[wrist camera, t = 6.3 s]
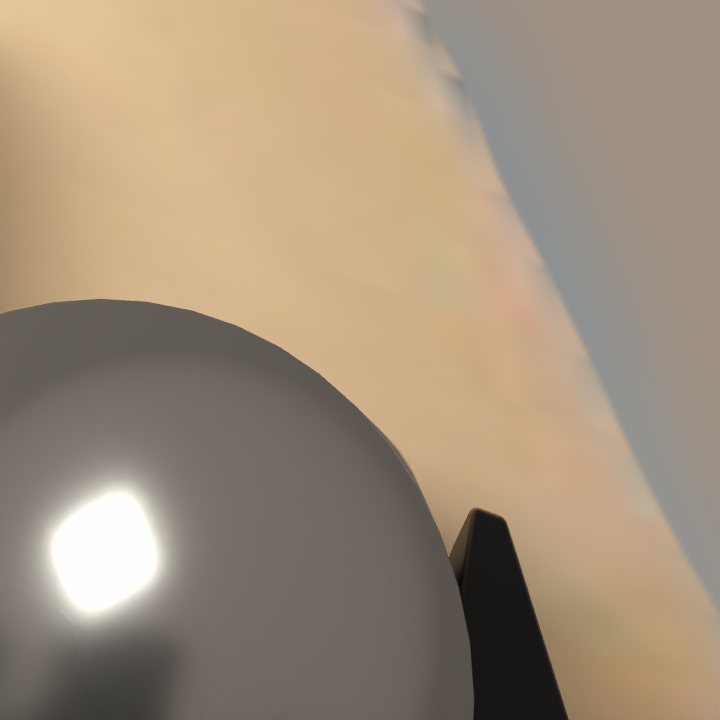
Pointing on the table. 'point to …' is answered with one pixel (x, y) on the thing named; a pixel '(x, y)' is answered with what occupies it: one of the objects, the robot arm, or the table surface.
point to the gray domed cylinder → (208, 533)
